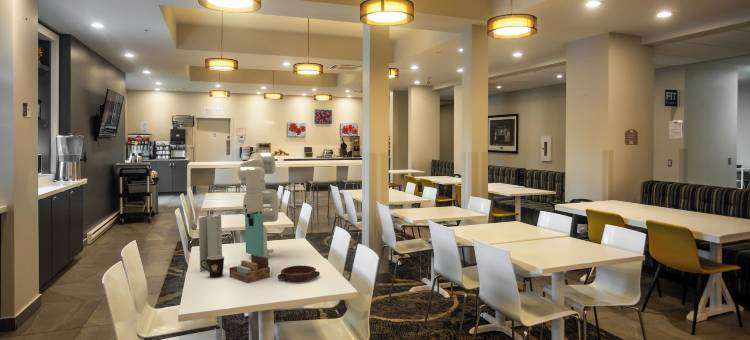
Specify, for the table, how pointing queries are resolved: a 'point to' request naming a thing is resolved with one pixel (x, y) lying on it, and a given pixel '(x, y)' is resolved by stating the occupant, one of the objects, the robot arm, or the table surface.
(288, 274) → the dish
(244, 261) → the offcut oak
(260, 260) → the rack
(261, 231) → the tall sheet
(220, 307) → the table surface
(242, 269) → the offcut grey
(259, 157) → the robot arm
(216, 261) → the coffee mug
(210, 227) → the tall grey panel
